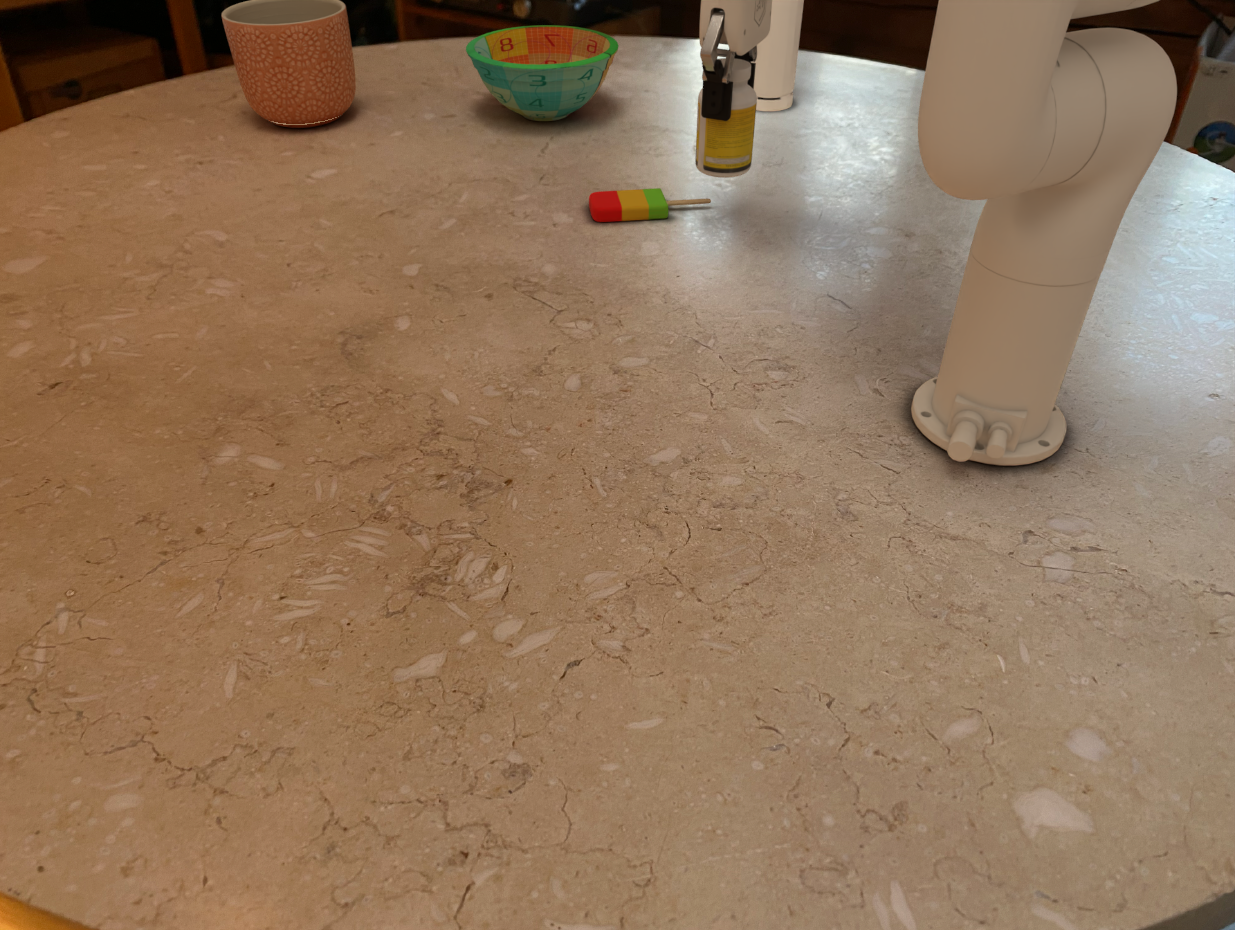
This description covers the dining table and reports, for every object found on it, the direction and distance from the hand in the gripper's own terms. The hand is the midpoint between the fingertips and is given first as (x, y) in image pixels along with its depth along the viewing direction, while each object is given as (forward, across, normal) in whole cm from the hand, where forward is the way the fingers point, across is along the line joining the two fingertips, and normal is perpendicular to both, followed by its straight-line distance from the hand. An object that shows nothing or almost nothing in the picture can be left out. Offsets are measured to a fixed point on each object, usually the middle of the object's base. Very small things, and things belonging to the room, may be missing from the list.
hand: (727, 107), depth 104 cm
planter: (+14, +9, +70) cm, 72 cm away
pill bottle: (+7, 0, 0) cm, 7 cm away
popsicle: (+14, 0, +9) cm, 17 cm away
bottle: (+14, +45, +9) cm, 48 cm away
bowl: (+14, +26, +38) cm, 48 cm away
